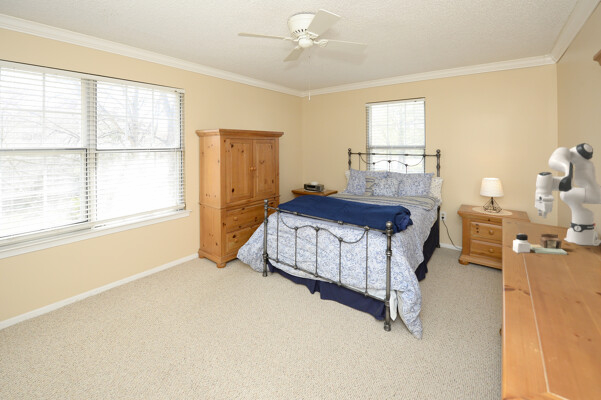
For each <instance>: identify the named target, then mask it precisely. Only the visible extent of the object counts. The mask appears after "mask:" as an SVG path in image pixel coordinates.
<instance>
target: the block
mask: <svg viewBox="0 0 601 400" xmlns="http://www.w3.org/2000/svg"><path fill="white" fill-rule="evenodd" d="M546 248H553V249H556V241H546Z"/></svg>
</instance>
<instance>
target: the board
mask: <svg viewBox="0 0 601 400" xmlns="http://www.w3.org/2000/svg"><path fill="white" fill-rule="evenodd" d="M530 250H532V251H533V252H534V253H535V254H545V255H562V256H563V255H564V256H566V255H568V252H567V251H565V250H564V249H563V248H561V249H559V248H557V247H556V249H553V248H543V247H542V246H541V245H540V244H531V243H530Z"/></svg>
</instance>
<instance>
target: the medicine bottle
mask: <svg viewBox="0 0 601 400" xmlns="http://www.w3.org/2000/svg"><path fill="white" fill-rule="evenodd" d="M528 237H529V236H528V235H527V234H525V233H517V234H516V238H515V240H514V239H513V240H512V251H513V252H515V253H517V254H521V253H530V252H531V248H530V244H531V243H530V241H528Z"/></svg>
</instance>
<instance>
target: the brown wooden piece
mask: <svg viewBox="0 0 601 400" xmlns="http://www.w3.org/2000/svg"><path fill="white" fill-rule="evenodd" d="M539 239H540V240H539V245H541V246H542V247H543V248H546V241H556V247H557V248H559V249H562V241H563V240H562V239H560V238H559V234H558V233H540V238H539Z"/></svg>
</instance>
